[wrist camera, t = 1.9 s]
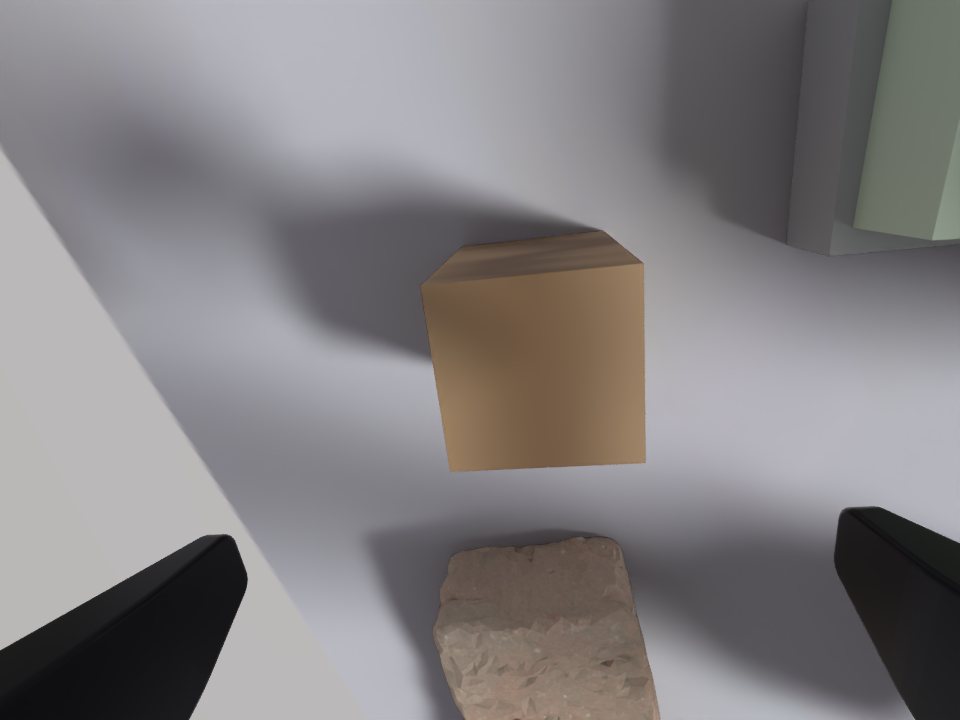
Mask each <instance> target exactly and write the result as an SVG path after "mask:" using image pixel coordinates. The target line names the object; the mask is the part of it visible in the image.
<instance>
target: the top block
mask: <svg viewBox="0 0 960 720" xmlns="http://www.w3.org/2000/svg"><path fill="white" fill-rule="evenodd" d="M853 228H858V229H864V230H870V231H876V232H883V233H889V234H895V235H901V236H908V237H914V238H920V239H926V240H947V239H960V0H892V3H891V8H890V14H889V20H888V26H887V32H886V37H885V43H884V49H883V55H882V61H881V67H880V72H879V78H878V84H877V90H876V96H875V101H874V107H873V113H872V119H871V125H870V130H869V136H868V142H867V148H866V154H865V159H864V165H863V171H862V177H861V183H860V188H859V194H858V200H857V206H856V212H855V217H854V223H853Z"/></svg>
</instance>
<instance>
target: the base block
mask: <svg viewBox="0 0 960 720" xmlns="http://www.w3.org/2000/svg"><path fill="white" fill-rule="evenodd" d="M891 3H892V0H810V1H808V9H807V20H806V31H805V42H804V53H803V64H802V75H801V86H800V97H799V108H798V119H797V130H796V141H795V152H794V163H793V174H792V185H791V196H790V207H789V218H788V229H787V240H786V245H789V246H793V247H796V248H800V249H804V250H808V251H811V252H815V253H819V254H822V255H826V256H838V255H849V254H860V253H871V252H882V251H893V250H903V249H914V248H925V247H936V246H947V245H958V244H960V239H947V240H926V239H920V238H914V237H908V236H901V235H895V234H889V233H883V232H876V231H870V230H864V229H858V228H853V223H854V217H855V212H856V206H857V200H858V194H859V188H860V183H861V177H862V171H863V165H864V159H865V154H866V148H867V142H868V136H869V130H870V125H871V119H872V113H873V107H874V101H875V96H876V90H877V84H878V78H879V72H880V67H881V61H882V55H883V49H884V43H885V37H886V32H887V26H888V20H889V14H890V8H891Z"/></svg>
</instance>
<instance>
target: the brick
mask: <svg viewBox="0 0 960 720" xmlns="http://www.w3.org/2000/svg"><path fill="white" fill-rule="evenodd" d="M440 602H441V604H440V607H439V614H438V618H437V621H436V623H435V625H434V627H433V637H434V641H435V644H436V647H437V649H438V652H439V655H440V659H441V663H442V667H443V671H444V673H445V676H446V679H447V682H448V686H449V689H450V692H451V695H452V697H453V699H454V701H455V704H456V706H457V708H458V709H459V711H460V713H461V714H462V716H463V717H464V719H465V720H660V712H659V707H658V702H657V696H656V691H655V686H654V681H653V676H652V672H651V669H650V665H649V662H648V658H647V654H646V648H645V643H644V638H643V635H642V631H641V628H640V624H639V620H638V617H637V613H636V609H635V603H634V597H633V593H632V588H631V584H630V581H629V576H628V573H627V570H626V566H625V563H624V559H623V555H622V550H621V548H620V546H619V545H618V544H617V543H616V542H615V541H614V540H612V539H610V538H600V537H594V538H589V539H586V538H583V537H574V538H571V539H568V540H565V541H561V542H559V543H550V544H547V545H528V546H526V547H520V548H517V547H514V546H512V547H504V548H498V547H482V548H478V549H474V550H467V551H461V552H459V553H457V554H455V555H454V556H452V557H451V558H450V561H449V564H448V576H447V577H446V579H445V581H444V583H443V585H442V586H441V588H440Z"/></svg>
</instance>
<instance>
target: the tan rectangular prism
mask: <svg viewBox="0 0 960 720" xmlns="http://www.w3.org/2000/svg"><path fill="white" fill-rule="evenodd" d="M420 288H421V294H422V300H423V307H424V313H425V319H426V325H427V331H428V337H429V344H430V350H431V356H432V362H433V368H434V374H435V381H436V387H437V393H438V399H439V405H440V411H441V418H442V424H443V430H444V436H445V442H446V448H447V454H448V461H449V467H450V472H456V471H478V470H500V469H523V468H545V467H567V466H589V465H611V464H634V463H646V456H645V353H644V263H643V262H641V261H640V260H639V259H638V258H636V257H635V256H634V255H633V254H631V253H630V252H629V251H628V250H627V249H625V248H624V247H623V246H622V245H620V244H619V243H618V242H617V241H615V240H614V239H613V238H612V237H610V236H609V235H608V234H607V233H606V232H604V231H596V232H587V233H578V234H569V235H560V236H551V237H542V238H533V239H524V240H515V241H506V242H497V243H488V244H479V245H470V246H462V247H461V248H460V249H459V250H458V251H457V252H456V253H455V254H454V255H453V256H451V257H450V258H449V259H448V260H447V261H446V262H445V263H444V264H443V265H442V266H441V267H440V268H439V269H438V270H436V271H435V272H434V273H433V274H432V275H431V276H430V277H429V278H428V279H427V280H426V281H425V282H424V283H423V284H421V285H420Z"/></svg>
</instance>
